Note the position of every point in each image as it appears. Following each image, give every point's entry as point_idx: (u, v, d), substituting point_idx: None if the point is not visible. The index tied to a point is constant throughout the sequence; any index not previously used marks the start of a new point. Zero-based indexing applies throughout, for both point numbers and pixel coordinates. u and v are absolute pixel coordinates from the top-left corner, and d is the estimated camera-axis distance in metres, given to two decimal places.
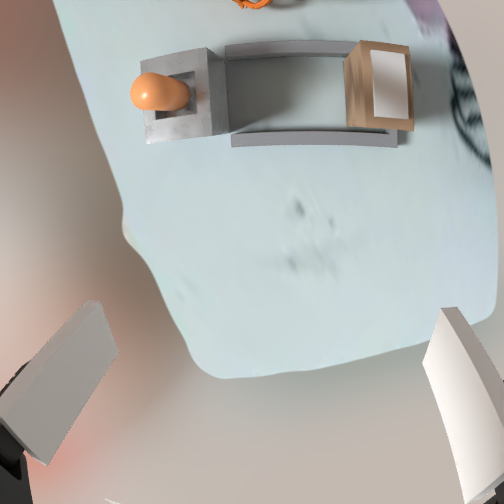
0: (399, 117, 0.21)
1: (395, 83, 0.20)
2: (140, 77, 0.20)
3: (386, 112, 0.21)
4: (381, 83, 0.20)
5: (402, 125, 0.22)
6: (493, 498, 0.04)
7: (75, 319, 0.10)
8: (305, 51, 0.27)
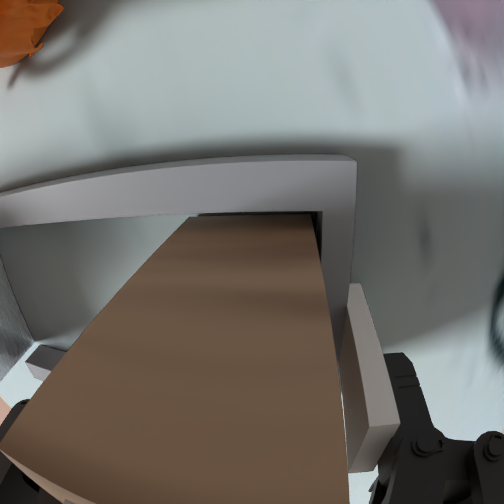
0: None
1: None
2: None
3: None
4: None
5: None
6: (375, 480, 0.06)
7: None
8: (68, 218, 0.10)
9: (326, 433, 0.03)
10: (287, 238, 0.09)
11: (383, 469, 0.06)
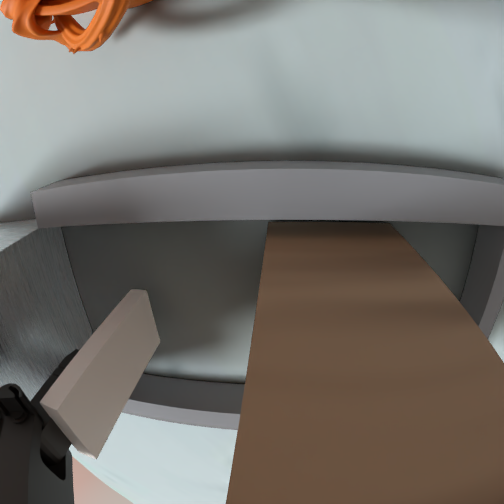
0: None
1: None
2: None
3: None
4: None
5: None
6: None
7: (122, 307, 0.11)
8: (262, 215, 0.09)
9: None
10: (389, 247, 0.08)
11: None
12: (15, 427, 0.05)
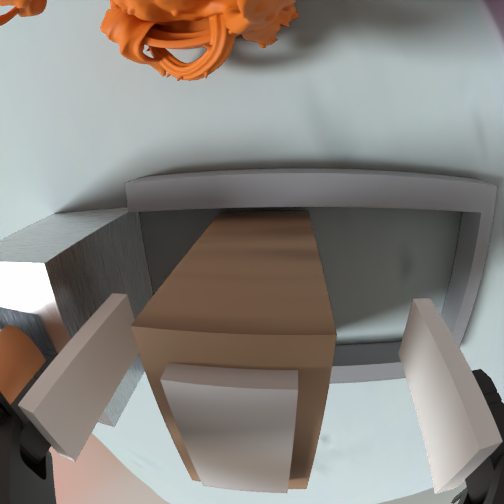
0: (262, 491, 0.08)
1: (252, 454, 0.07)
2: None
3: (228, 485, 0.08)
4: (206, 450, 0.07)
5: None
6: (464, 491, 0.05)
7: (102, 312, 0.10)
8: (312, 204, 0.13)
9: (320, 298, 0.07)
10: (293, 224, 0.13)
11: (477, 480, 0.04)
12: None
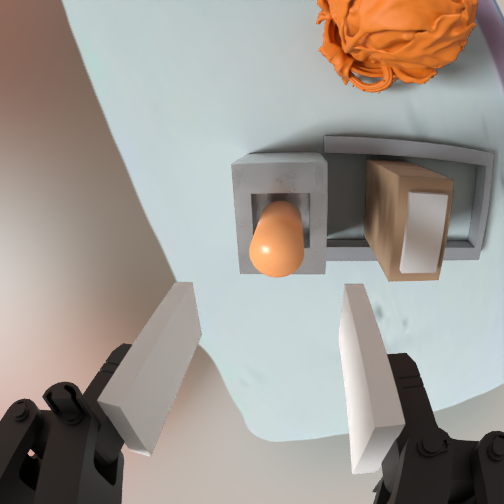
0: (426, 271, 0.20)
1: (430, 234, 0.19)
2: (266, 231, 0.17)
3: (413, 267, 0.20)
4: (415, 235, 0.19)
5: (427, 275, 0.21)
6: (380, 480, 0.06)
7: (171, 299, 0.11)
8: (415, 156, 0.25)
9: (443, 176, 0.19)
10: (409, 164, 0.25)
11: (388, 469, 0.05)
12: (67, 429, 0.05)
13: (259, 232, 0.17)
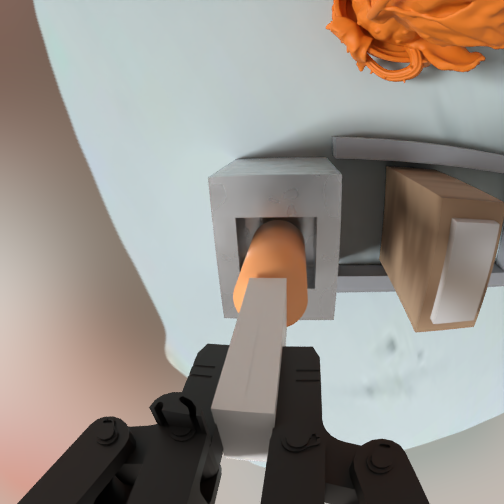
0: (463, 320, 0.14)
1: (474, 274, 0.13)
2: (255, 273, 0.12)
3: (449, 316, 0.14)
4: (455, 276, 0.13)
5: (462, 322, 0.15)
6: None
7: (253, 296, 0.11)
8: (446, 164, 0.19)
9: (490, 195, 0.13)
10: (439, 174, 0.19)
11: None
12: (174, 445, 0.05)
13: (246, 273, 0.13)
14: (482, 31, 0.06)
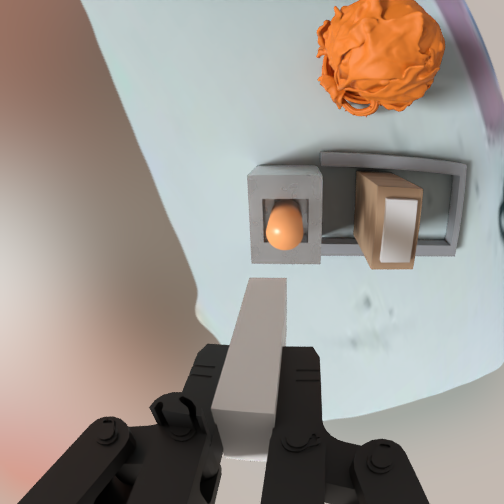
0: (401, 261, 0.26)
1: (403, 231, 0.25)
2: (277, 218, 0.26)
3: (391, 258, 0.26)
4: (391, 232, 0.25)
5: (403, 265, 0.27)
6: None
7: (253, 296, 0.11)
8: (396, 168, 0.31)
9: (415, 185, 0.25)
10: (390, 175, 0.31)
11: None
12: (174, 445, 0.05)
13: (273, 218, 0.26)
14: (394, 97, 0.18)
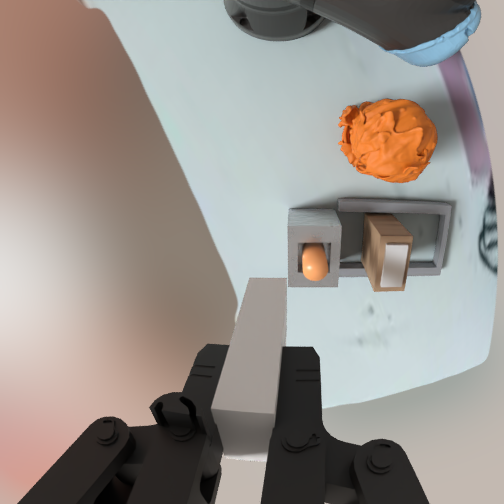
0: (396, 286, 0.37)
1: (397, 266, 0.36)
2: (311, 259, 0.37)
3: (388, 284, 0.37)
4: (388, 267, 0.36)
5: (397, 288, 0.38)
6: None
7: (253, 296, 0.11)
8: (395, 212, 0.42)
9: (408, 232, 0.36)
10: (390, 217, 0.42)
11: None
12: (174, 445, 0.05)
13: (308, 260, 0.37)
14: (396, 181, 0.29)
